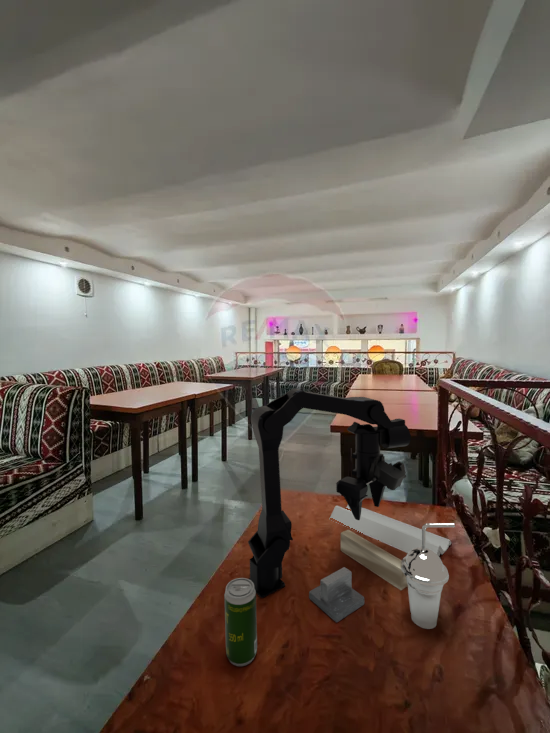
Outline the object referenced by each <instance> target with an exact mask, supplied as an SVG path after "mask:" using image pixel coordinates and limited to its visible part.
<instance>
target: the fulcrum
mask: <svg viewBox="0 0 550 733" xmlns="http://www.w3.org/2000/svg"><path fill="white" fill-rule="evenodd" d="M352 575H353V574H352V571H351V570H350V569H348V568H346V567H345V566H343V567H342V568H340V569H338V570H336V571H334V572H332V573H331V574H329V575H327V576H325V577H323V578H321V579H320V581H319V582H320V585H319V586H316V587H315V588H313V589H311V590H309V592H308V598H309V600H310V601H311V602H313V603H314V604H315V605H316V606H317V607H318V608H319V609H320V610H321V611H322V612H323V613H325V615H327V616H328V617H329V618H330V619H332V621H333V622H335V623H336V624H337V623H338V622H340V621H342V620H343V619H344V618H346V617H348V616H349V615H350V614H352V613H354V612H355V611H356V610H358V609H359V608H361V607H363V606H364V605H365V596H364V595H362V594H361V593H359V592H358V591H356V590H355V589H354V588H353V587H352V578H353V577H352Z"/></svg>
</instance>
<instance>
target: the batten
mask: <svg viewBox="0 0 550 733" xmlns="http://www.w3.org/2000/svg"><path fill="white" fill-rule="evenodd" d="M340 551H341V552H342V553H343V554H345V555H347V556H348V557H350V558H351V559H353V560H354V561H356V562H357V563H358V564H360V565H362V566H363V567H365V568H366V569H367V570H369V571H371V572H372V573H373V574H375V575H377V576H378V577H380V578H381V579H383V580H384V581H386V582H387V583H389V585H391V586H393V587H394V588H396V589H398V590H399V591H403V590H404V589H406V588H408V585H407V582H406V577H405V575H404V573H403V572H402V570H401V561H402V559H400V558H398V557H397V556H395V555H393V554H391V553H390V552H388V551H386V550H385V549H383V548H381V547H380V546H378V545H376V544H375V543H373V542H371V541H369V540H367V539H366V538H363V537H362V536H360V535H359V534H357V533H355V532H354V531H351V530H350V529H346V530H343V531H342V532H340Z"/></svg>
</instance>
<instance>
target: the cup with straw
mask: <svg viewBox="0 0 550 733" xmlns="http://www.w3.org/2000/svg"><path fill="white" fill-rule="evenodd" d="M428 528H456V525H455V523H454V522H450V523H449V522H446V523H445V522H443V523H442V522H436V523H435V522H427V523H424V524H422V527H421V529H422V547H416V548H413V549H412V550H410V551H409V552H408V553H406V556H404V557H403V558H402V559H401V560H402V561H401V570H402V572H403V573H404V575H405V577H406V582H407V585H408V586H407V593H408V602H409V610H410V613H411V614H410V617H411V621H412V622H413V623H414V624H416V626H418V627H420V628H422V629H426V630H430V629H434V628H436V626H437V623H438V617H439V609H440V604H441V596H442V591H443V587H444V585H445V584H446V583H448V581H449V580H450V579H449V578H450V575H449V571H448V568H447V566H446V565H444V563H443V561H442V559H441V557H440V555H439V556H438V555H437V554H436V553H435V552H433V551H432V550H430V549H428V548H426V531H427V529H428Z"/></svg>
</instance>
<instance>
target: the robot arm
mask: <svg viewBox="0 0 550 733" xmlns="http://www.w3.org/2000/svg"><path fill="white" fill-rule="evenodd" d="M303 409H308V410H312V411H313V410H314V411H319V412H325V413H326V412H327V413H331V414H332V413H333V414H338V415H346V416H348V417H351V418H354V419H356V420H360V421H362V422H365V423H363V424H360V423H359V422H356V421H353V422H352V424H351V425H350V426H348V427H347V428H346V431H348V432H350V433H352V434H354V435H355V452H353V453H351V458H352V459H355V468H354V469H352V470H351V475H354V476H356V477H357V478H355V477H351V476H345V477H343V478H341V479H339V480H338V481H337V482H335V484H336V485H335V490H336V491H335V492H336V493H339V495H341V496H342V497H343V498H344V500H345V502H346V503H347V505H349V507H350V509H351V512H352V514H353V516H354V518H355V519H356V520H360V516H361V508H363V506H362V505H363V500H364V499H366V498H367V497H368V494H367V493H368V487H369V490H370V494H371V498H372V499H371V500H372V502H373V505H374V507H375V508H376V507H377V508H379V507H380V504H381V500H382V498H383V495H384V492H385V489H386V488H387V489H388V490H390V491H395V490H396V489H398V488H399V487H401V486H402V483H403V482H404V481H403V480H404V479H405V478H406V477H407V475H406V473H407V472H406V468H405V466H406V465H405V464H404V463H403V462H401V461H397V462H395V463H392V462H390V463H388V462H386V460H385V455H384V453H381V447H382V448H384V449H393V448H399V447H407V446H409V445H410V443H411V440H412V434H411V432H410V429H409V428H408V426H407V425H406V420H405V419H403V418H395V419H391V418H390V417H389V415H388V414H387V413H386V411H385V406H384V404H383V402H382V401H380V400H377V399H375V398H370V397H365V396H349V397H340V396H335V395H328V394H322V393H318V392H311V391H305V390H302V389H298V388H292V389H290V390H288V391H287V392H286V393H285V394H283V395H281V396H279V397H277V398H275V399H274V400H271V401H270V402H268V403H267V404H265V405H261V406H257V408H255V409H254V411H253V412H252V413H251V415H250V422H251V423H250V424H251V426H252V432H253V435H254V439H255V441H256V444H257V447H258V460H259V473H260V476H259V477H260V491H261V492H260V494H261V511H260V513H259V514H260V515H259V517H258V521H257V522H258V524H257V530H256V532H255V533H254V534H253V535H252V536H251V537H250V539H249V540H248V541H247V544H248V546H249V548H250V550H251V553H252V557H251V558H249V578H248V579H249V580H251V581H252V582H253V583H254V588H255V590H256V595H257V596H258V597H260V598H261V599H263V598H265V597H268V596H269V595H271V594H273V593H275V592H277V591H279V590H281V589H282V588H284V587H286V583H285V581H283V580H282V579H283V561H284V557H285V554H286V553H287V551H289V549H290V548H291V541H293V540H294V538H293V536H292V524H293V523H292V521H291V519H290V518H289V517H288V515H287V513H286V512H285V511H284V509H282V507H283V506H282V491H281V490H282V489H281V488H282V487H281V476H280V454H279V449H280V445H281V443H282V441H283V437H284V429H285V426H286V425H288V424H289V423H290V422H291V421H292V420H293V419H294V418H295V417H296V416H297V414H298V413H299V412H300V411H302V410H303ZM366 423H367V424H366ZM373 425H376V426H373ZM368 485H369V486H368Z"/></svg>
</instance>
